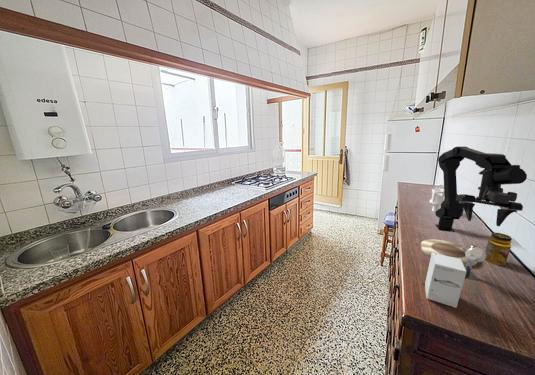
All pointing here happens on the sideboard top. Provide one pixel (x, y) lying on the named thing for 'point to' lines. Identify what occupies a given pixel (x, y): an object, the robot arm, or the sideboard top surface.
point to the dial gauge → (473, 260)
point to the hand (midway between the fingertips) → (483, 223)
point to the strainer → (437, 198)
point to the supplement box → (445, 279)
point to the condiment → (498, 249)
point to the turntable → (444, 249)
